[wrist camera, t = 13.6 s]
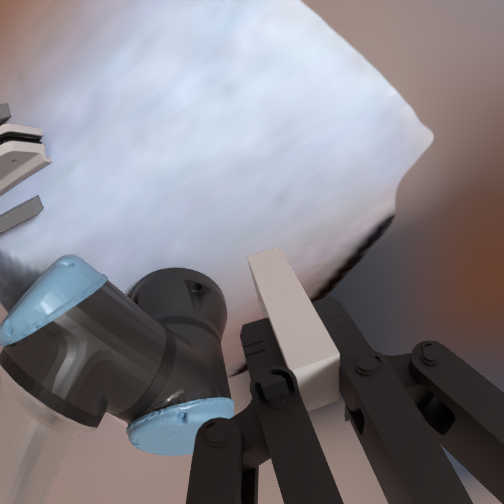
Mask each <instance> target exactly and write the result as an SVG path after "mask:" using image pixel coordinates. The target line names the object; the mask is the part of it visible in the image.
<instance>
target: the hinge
mask: <svg viewBox="0 0 504 504" xmlns="http://www.w3.org/2000/svg"><path fill="white" fill-rule="evenodd" d="M42 136H43V134H42V132H41V130H40V129H39V128H33V127H27V126H21V125H15V124H3V125H1V126H0V196H1V195H2V194H4V193H5V192H7V191H8V190H10V189H11V188H12V187H14V186H15V185H17V184H18V183H20V182H21V181H23V180H24V179H26V178H28V177H29V176H31V175H32V174H34V173H35V172H37V171H39V170H40V169H42V168H44V167H45V166H47V165H49V164H50V163H52V160H51V159H50V158H46V153H45V144H42V142H37V141H39V140H40V139H41V137H42Z"/></svg>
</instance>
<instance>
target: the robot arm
mask: <svg viewBox="0 0 504 504" xmlns="http://www.w3.org/2000/svg"><path fill="white" fill-rule="evenodd" d="M247 259H248V263H249V266H250V270H251V274H252V277H253V281H254V285H255V288H256V292H257V295H258V299H259V303H260V305H261V308H262V311H263V314H264V317H265V318H264V319H261V320H258V321H255V322H251V323H248V324H245V325H243V326H242V330H241V334H240V338H241V342H242V346H243V350H244V354H245V358H246V362H247V366H248V370H249V373H250V378H251V383H250V392H251V394H252V397H253V398H252V400H251V403H250V404H249V405H248V406H247V408H245V409H244V410H243V411H242V412H240V413H238V414H237V415H235V416H234V402H233V400H232V399H231V394H230V389H229V384H228V379H227V374H226V368H225V363H224V358H223V353H222V348H221V340H222V336H223V333H224V329H225V325H226V322H227V308H226V303H225V298H224V295H223V293H222V291H221V290H220V288H219V287H218V285H217V284H216V283H215V282H214V281H213V280H211V279H210V278H209V277H207V276H206V275H204V274H202V273H200V272H197V271H194V270H190V269H185V268H167V269H162V270H158V271H155V272H153V273H151V274H149V275H147V276H146V277H144V278H143V279H142V280H141V281H140V282H139V283H138V284H137V285H136V286H135V288H134V289H133V291H132V294H131V297H130V298H129V297H128V296H126V295H125V294H124V293H123V292H122V291H120V290H119V289H118V288H117V287H116V286H114V285H113V284H112V283H111V282H110V281H108V277H107V276H106V275H104V274H100V273H99V272H97V271H96V270H95V269H94V268H92V267H91V266H90V265H89V264H87V263H86V262H85V261H84V260H83V259H81V258H80V257H78V256H76V255H64V256H62V257H60V258H59V259H57V260H56V261H55V262H54V263H53V264H52V265H51V266H50V267H49V268H48V269H47V270H46V271H45V272H44V273H43V274H42V275H41V276H40V277H39V278H38V279H37V280H36V281H35V283H34V284H33V285H32V286H31V287H30V288H29V289H28V290H27V291H26V293H25V294H24V295H23V296H22V297H21V298H20V300H19V301H18V302H17V303H16V304H15V306H14V307H13V308H12V310H11V311H10V312H9V314H8V315H7V316H6V318H5V319H4V320H3V322H2V323H1V324H0V345H3V346H4V348H3V350H2V352H1V354H0V376H1V379H2V386H1V388H0V504H45V502H46V500H47V497H48V495H49V492H50V490H51V488H52V485H53V483H54V481H55V479H56V476H57V474H58V472H59V470H60V467H61V465H62V463H63V461H64V459H65V457H66V455H67V452H68V450H69V448H70V446H71V444H72V442H73V440H74V438H75V436H76V435H77V434H78V433H82V432H88V431H93V430H96V429H97V427H98V425H99V423H100V422H101V420H102V418H103V416H104V414H105V412H108V413H110V414H112V415H114V416H116V417H118V418H119V419H122V420H124V421H125V422H127V423H128V427H127V431H126V432H127V434H128V437H129V440H130V441H131V443H132V445H133V446H135V447H136V448H138V449H140V450H142V451H144V452H148V453H152V454H157V455H167V456H168V455H169V456H171V455H172V456H173V455H174V456H175V455H187V454H193V457H192V464H191V470H190V477H189V485H188V492H187V499H186V504H258V471H259V465H260V464H262V463H264V462H265V461H267V460H268V459H270V458H271V460H272V464H273V467H274V471H275V474H276V477H277V481H278V484H279V487H280V491H281V494H282V497H283V501H284V504H344V503H343V501H342V498H341V496H340V493H339V491H338V488H337V486H336V483H335V481H334V478H333V476H332V473H331V471H330V468H329V466H328V463H327V461H326V458H325V456H324V453H323V451H322V448H321V446H320V443H319V441H318V438H317V436H316V433H315V430H314V428H313V425H312V423H311V420H310V418H309V415H308V413H307V411H310V410H313V409H316V408H319V407H322V406H324V405H327V404H330V403H332V402H335V401H338V400H340V393H341V395H342V397H343V399H344V401H345V420H346V421H348V420H350V422H351V424H352V426H353V428H354V430H355V432H356V434H357V437H358V439H359V441H360V443H361V445H362V447H363V449H364V451H365V454H366V456H367V458H368V460H369V462H370V464H371V466H372V469H373V471H374V473H375V475H376V477H377V480H378V482H379V484H380V486H381V488H382V490H383V492H384V495H385V497H386V499H387V501H388V503H389V504H473V503H472V501H471V499H470V497H469V495H468V493H467V491H466V490H465V488H464V486H463V484H462V482H461V480H460V479H459V477H458V475H457V473H456V472H455V470H454V468H453V466H452V465H451V463H450V461H449V459H448V458H447V456H446V454H445V452H444V451H443V449H442V447H441V446H440V444H441V445H442V446H443V447H444V448H445V449H446V450H447V451H448V452H449V453H450V454H451V455H452V456H453V457H454V458H455V459H456V460H457V461H458V462H460V463H461V464H462V465H463V466H464V467H465V468H466V469H467V470H468V471H469V472H470V473H471V474H472V475H473V476H474V477H475V478H476V479H477V480H478V481H479V482H480V483H481V484H482V485H483V486H484V487H486V488H487V489H488V490H489V491H490V492H491V493H492V494H493V495H494V496H495V497H496V498H497V499H498V500H499V501H500V502H501V503H502V504H504V393H503V392H502V391H501V390H499V389H498V388H497V387H496V386H495V385H493V384H492V383H491V382H490V381H488V380H487V379H486V378H485V377H483V376H482V375H480V374H479V373H478V372H477V371H476V370H475V369H473V368H472V367H471V366H469V365H468V364H467V363H466V362H464V361H463V360H462V359H460V358H459V357H458V356H457V355H455V354H454V353H453V352H451V351H450V350H449V349H448V348H446V347H445V346H444V345H442V344H440V343H439V342H437V341H430V340H429V341H423V342H421V343H419V344H417V345H416V346H415V347H414V349H413V350H412V353H409V354H403V355H396V356H387V355H382V354H381V353H379V352H377V351H374V350H373V349H372V348H371V347H370V345H369V344H368V342H367V341H366V339H365V338H364V336H363V335H362V333H361V332H360V330H359V329H358V327H357V326H356V324H355V323H354V321H353V320H352V318H351V317H350V316H349V314H348V313H347V311H346V309H345V308H344V307H343V305H342V304H341V302H339V301H338V300H336V299H334V298H333V297H331V296H329V297H326V298H323V299H320V300H317V301H314V302H310V300H309V298H308V296H307V295H306V293H305V291H304V289H303V288H302V286H301V284H300V282H299V281H298V279H297V277H296V275H295V274H294V272H293V270H292V269H291V267H290V265H289V263H288V262H287V260H286V258H285V257H284V255H283V253H282V251H281V250H280V248H279V247H278V248H275V249H272V250H268V251H265V252H262V253H258V254H255V255H252V256H248V257H247ZM439 443H440V444H439Z"/></svg>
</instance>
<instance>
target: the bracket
mask: <svg viewBox="0 0 504 504" xmlns="http://www.w3.org/2000/svg"><path fill="white" fill-rule="evenodd" d="M10 116H11V114H10V110H9V107H8V103H6V104H0V123H1V122H3V121H4V120H6V119H7V118H9V117H10ZM43 208H44V207H43V205H42V203H41V200H40V198H39V196H38V195H37V196H35V197H33V198H31V199H29V200H28V201H26V202H24V203H22V204H20V205H18V206H16V207H14V208H12V209H11V210H9V211H7V212H5V213H3V214H2V215H0V233H2V232H3V231H5V230H7V229H9V228H11V227H13V226H15V225H17V224H19V223H21V222H23V221H25V220H27V219H29V218H31V217H33V216H35V215H37V214H38V213H39V212H40V211H41V210H42V209H43Z"/></svg>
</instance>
